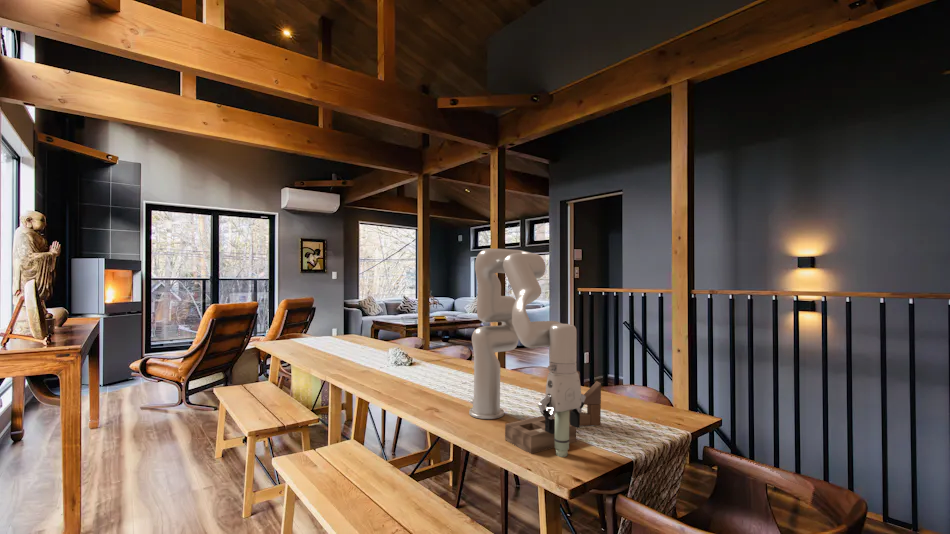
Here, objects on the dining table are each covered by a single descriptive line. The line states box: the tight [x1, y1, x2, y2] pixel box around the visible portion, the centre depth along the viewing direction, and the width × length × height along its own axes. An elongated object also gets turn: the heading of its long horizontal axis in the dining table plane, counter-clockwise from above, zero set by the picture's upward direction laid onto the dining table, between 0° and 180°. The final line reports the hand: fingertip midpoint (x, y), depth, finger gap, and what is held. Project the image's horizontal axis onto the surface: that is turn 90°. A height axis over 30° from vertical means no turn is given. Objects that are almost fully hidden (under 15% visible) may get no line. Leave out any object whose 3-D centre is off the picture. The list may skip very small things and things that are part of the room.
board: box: [504, 415, 577, 455], centre depth 136 cm, size 12×18×5 cm, turn 124°
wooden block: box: [569, 370, 602, 427], centre depth 153 cm, size 4×11×18 cm, turn 98°
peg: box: [554, 410, 570, 458], centre depth 126 cm, size 4×4×14 cm
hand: (562, 429), depth 126 cm, fingers open, 9 cm apart
